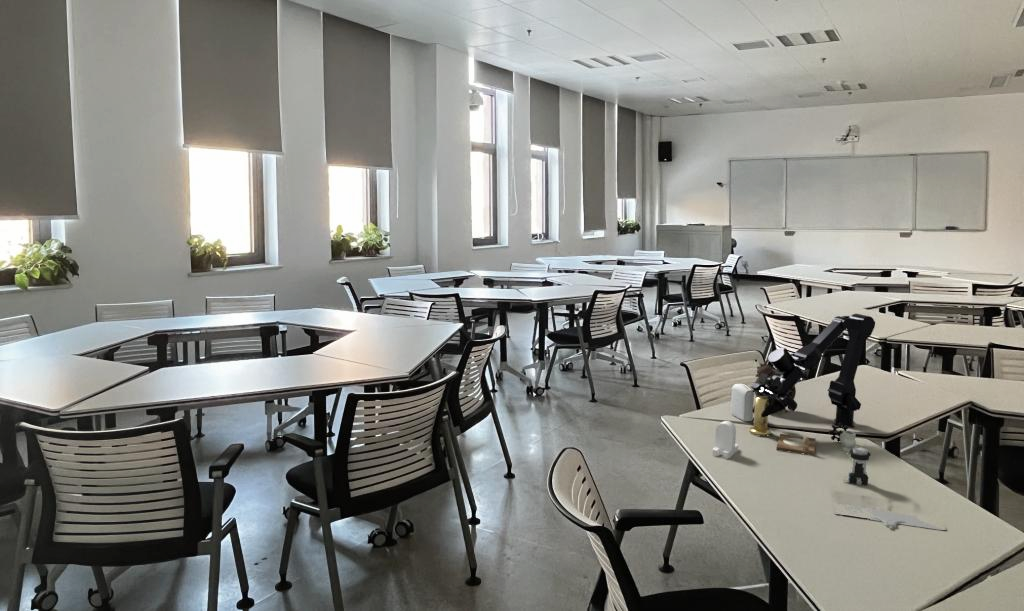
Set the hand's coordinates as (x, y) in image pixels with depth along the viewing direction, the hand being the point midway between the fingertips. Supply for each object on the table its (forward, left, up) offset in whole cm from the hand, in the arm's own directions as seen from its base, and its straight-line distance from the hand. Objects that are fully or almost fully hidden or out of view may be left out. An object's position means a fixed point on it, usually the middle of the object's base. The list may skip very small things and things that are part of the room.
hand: (757, 414), depth 240 cm
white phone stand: (+23, -7, -7) cm, 25 cm away
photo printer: (-16, -7, -7) cm, 19 cm away
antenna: (+48, +37, -7) cm, 61 cm away
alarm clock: (-30, +3, -7) cm, 31 cm away
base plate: (+7, +13, -7) cm, 16 cm away
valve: (+3, +27, -7) cm, 28 cm away
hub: (-2, +1, -7) cm, 7 cm away
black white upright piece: (+32, +30, -7) cm, 44 cm away
